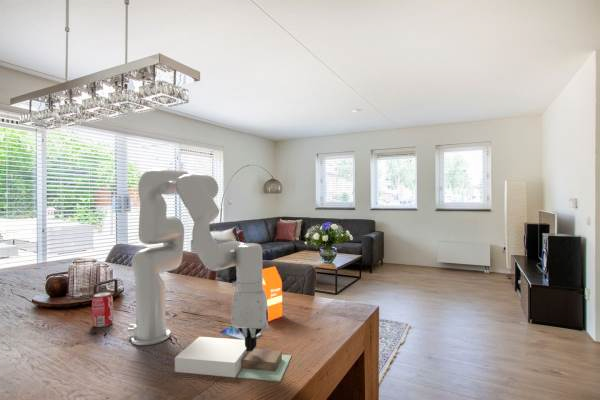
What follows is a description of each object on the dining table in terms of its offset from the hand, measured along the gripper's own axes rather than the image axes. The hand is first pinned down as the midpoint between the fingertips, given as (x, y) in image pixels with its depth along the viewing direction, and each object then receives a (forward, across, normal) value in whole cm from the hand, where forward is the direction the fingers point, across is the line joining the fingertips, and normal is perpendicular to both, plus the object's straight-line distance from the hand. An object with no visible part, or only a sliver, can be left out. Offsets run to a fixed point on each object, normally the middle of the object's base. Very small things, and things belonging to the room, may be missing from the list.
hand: (250, 349), depth 94 cm
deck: (+5, -11, 0) cm, 12 cm away
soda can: (+5, -68, +20) cm, 71 cm away
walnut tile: (+4, +3, +1) cm, 5 cm away
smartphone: (+5, -11, +20) cm, 23 cm away
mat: (+5, +4, 0) cm, 6 cm away
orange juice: (+5, -6, +38) cm, 39 cm away
